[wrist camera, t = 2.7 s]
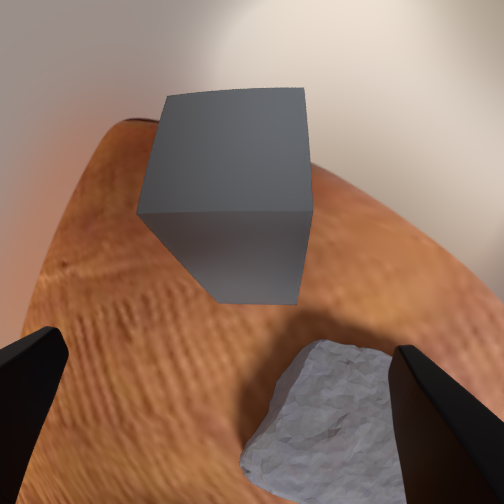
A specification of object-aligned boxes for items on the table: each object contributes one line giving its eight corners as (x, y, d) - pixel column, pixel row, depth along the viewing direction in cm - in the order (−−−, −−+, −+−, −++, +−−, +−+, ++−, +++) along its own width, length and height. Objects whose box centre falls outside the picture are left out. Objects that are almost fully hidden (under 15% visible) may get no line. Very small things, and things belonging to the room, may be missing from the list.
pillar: (296, 304, 20) (313, 211, 8) (218, 303, 21) (136, 213, 9) (296, 231, 22) (303, 87, 10) (223, 231, 22) (167, 96, 11)
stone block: (296, 336, 21) (229, 468, 17) (310, 313, 17) (226, 481, 12) (438, 393, 19) (389, 518, 14) (477, 382, 15) (422, 534, 10)
